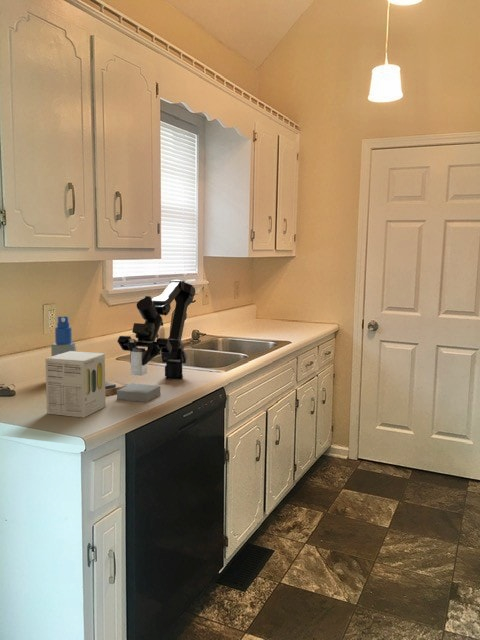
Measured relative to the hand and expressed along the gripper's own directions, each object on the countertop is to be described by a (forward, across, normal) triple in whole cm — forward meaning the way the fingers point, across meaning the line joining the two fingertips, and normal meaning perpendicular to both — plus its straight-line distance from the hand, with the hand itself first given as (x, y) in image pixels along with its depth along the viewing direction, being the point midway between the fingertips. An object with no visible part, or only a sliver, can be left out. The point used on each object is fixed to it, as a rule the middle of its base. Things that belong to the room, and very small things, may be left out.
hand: (137, 364), depth 182 cm
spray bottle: (-1, -38, +18) cm, 42 cm away
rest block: (+7, 0, +9) cm, 12 cm away
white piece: (+2, 0, +4) cm, 4 cm away
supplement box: (+22, -11, -6) cm, 25 cm away
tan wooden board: (+5, -13, +11) cm, 18 cm away
